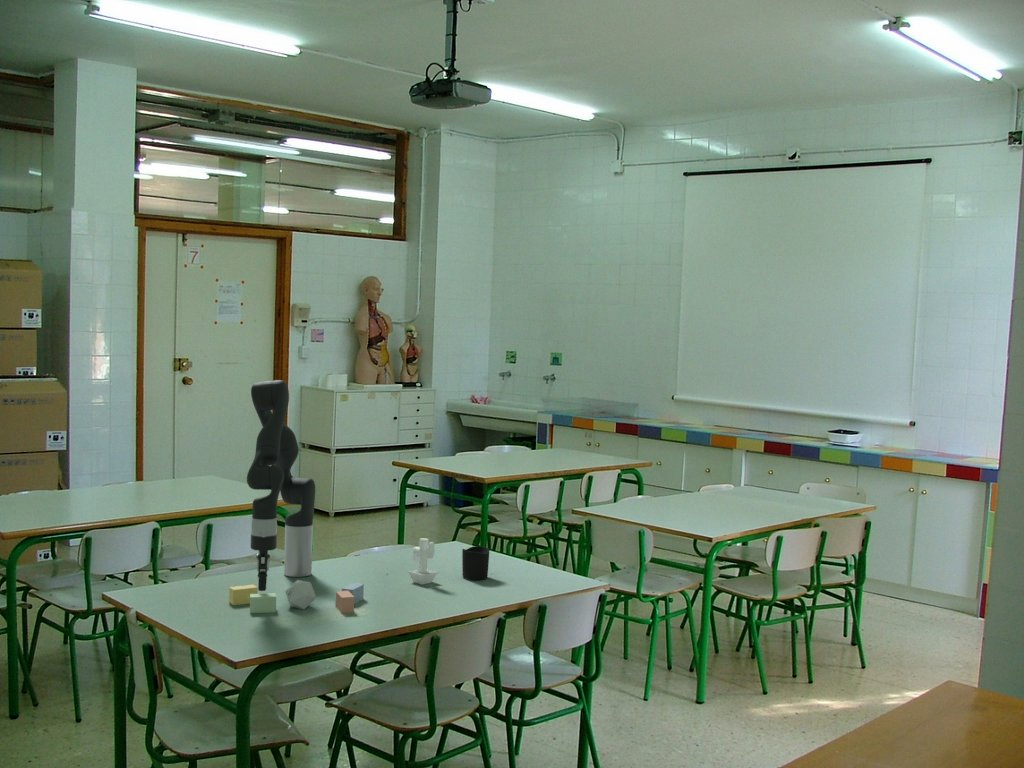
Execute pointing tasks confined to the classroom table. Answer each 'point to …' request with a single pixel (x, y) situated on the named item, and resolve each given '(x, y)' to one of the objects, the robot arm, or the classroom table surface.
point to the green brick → (262, 603)
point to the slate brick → (355, 591)
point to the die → (300, 594)
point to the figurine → (423, 562)
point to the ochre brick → (241, 594)
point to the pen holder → (475, 563)
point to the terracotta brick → (344, 601)
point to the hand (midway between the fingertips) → (262, 587)
